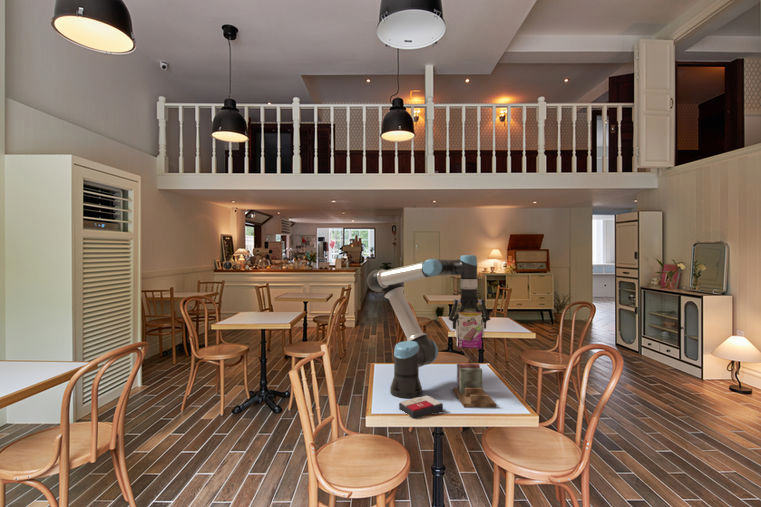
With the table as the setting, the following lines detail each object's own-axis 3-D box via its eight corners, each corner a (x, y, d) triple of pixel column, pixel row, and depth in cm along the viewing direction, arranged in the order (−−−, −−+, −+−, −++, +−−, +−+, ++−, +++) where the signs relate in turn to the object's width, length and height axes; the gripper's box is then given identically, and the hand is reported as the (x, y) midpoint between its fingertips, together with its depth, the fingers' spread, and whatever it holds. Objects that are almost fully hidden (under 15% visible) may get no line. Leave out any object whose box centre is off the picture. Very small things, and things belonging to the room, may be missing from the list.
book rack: (464, 407, 157) (464, 374, 157) (452, 390, 178) (452, 361, 178) (496, 407, 157) (496, 374, 158) (481, 390, 178) (481, 361, 179)
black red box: (398, 401, 154) (427, 393, 161) (398, 411, 154) (428, 403, 161) (412, 410, 145) (443, 402, 152) (413, 421, 145) (443, 412, 152)
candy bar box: (457, 348, 166) (457, 312, 166) (456, 346, 171) (456, 310, 171) (483, 348, 165) (482, 312, 165) (480, 346, 170) (480, 311, 170)
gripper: (445, 288, 164) (445, 337, 163) (497, 288, 166) (497, 337, 165) (441, 288, 172) (442, 334, 171) (491, 287, 173) (491, 334, 172)
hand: (469, 336), depth 168 cm, fingers closed on candy bar box, 11 cm apart
